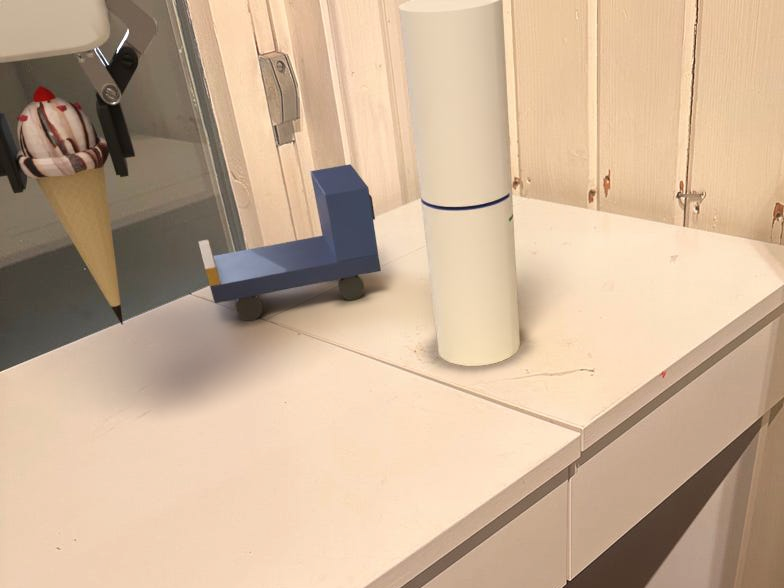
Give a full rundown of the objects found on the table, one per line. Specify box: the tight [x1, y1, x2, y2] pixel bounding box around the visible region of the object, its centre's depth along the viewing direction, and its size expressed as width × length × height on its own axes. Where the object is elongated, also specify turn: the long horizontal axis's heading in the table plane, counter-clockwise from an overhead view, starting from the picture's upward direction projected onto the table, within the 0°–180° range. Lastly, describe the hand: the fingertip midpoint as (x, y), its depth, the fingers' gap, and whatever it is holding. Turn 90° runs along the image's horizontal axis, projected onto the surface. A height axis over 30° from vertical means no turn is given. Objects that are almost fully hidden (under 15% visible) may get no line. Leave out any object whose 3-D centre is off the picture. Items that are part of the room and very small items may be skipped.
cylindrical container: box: [398, 0, 521, 367], centre depth 71 cm, size 7×7×25 cm
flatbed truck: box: [198, 163, 382, 321], centre depth 88 cm, size 16×8×10 cm, turn 108°
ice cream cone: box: [16, 85, 124, 326], centre depth 60 cm, size 6×6×15 cm
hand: (71, 175), depth 58 cm, fingers closed on ice cream cone, 5 cm apart
